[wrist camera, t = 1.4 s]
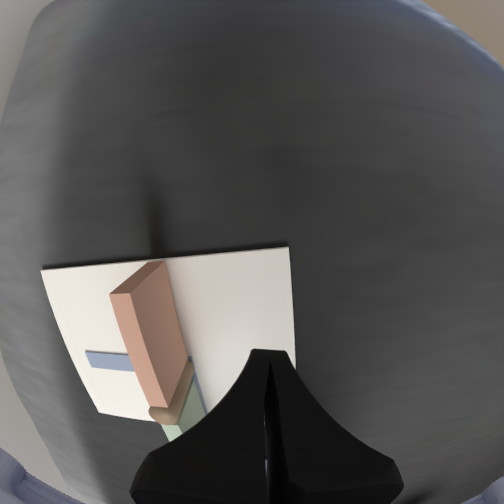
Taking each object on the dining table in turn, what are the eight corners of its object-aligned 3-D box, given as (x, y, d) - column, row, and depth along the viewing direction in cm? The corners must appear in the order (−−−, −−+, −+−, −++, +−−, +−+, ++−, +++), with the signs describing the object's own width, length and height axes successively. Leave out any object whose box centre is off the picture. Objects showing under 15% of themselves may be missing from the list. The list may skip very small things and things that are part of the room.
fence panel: (196, 376, 19) (180, 426, 14) (173, 376, 19) (153, 423, 14) (169, 260, 17) (135, 293, 12) (143, 262, 17) (103, 294, 12)
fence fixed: (215, 436, 21) (206, 483, 16) (198, 435, 22) (186, 481, 16) (197, 377, 20) (180, 430, 14) (177, 376, 20) (156, 427, 14)
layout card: (296, 420, 21) (297, 424, 20) (100, 410, 22) (98, 413, 22) (288, 246, 17) (288, 248, 16) (42, 269, 18) (39, 271, 18)
